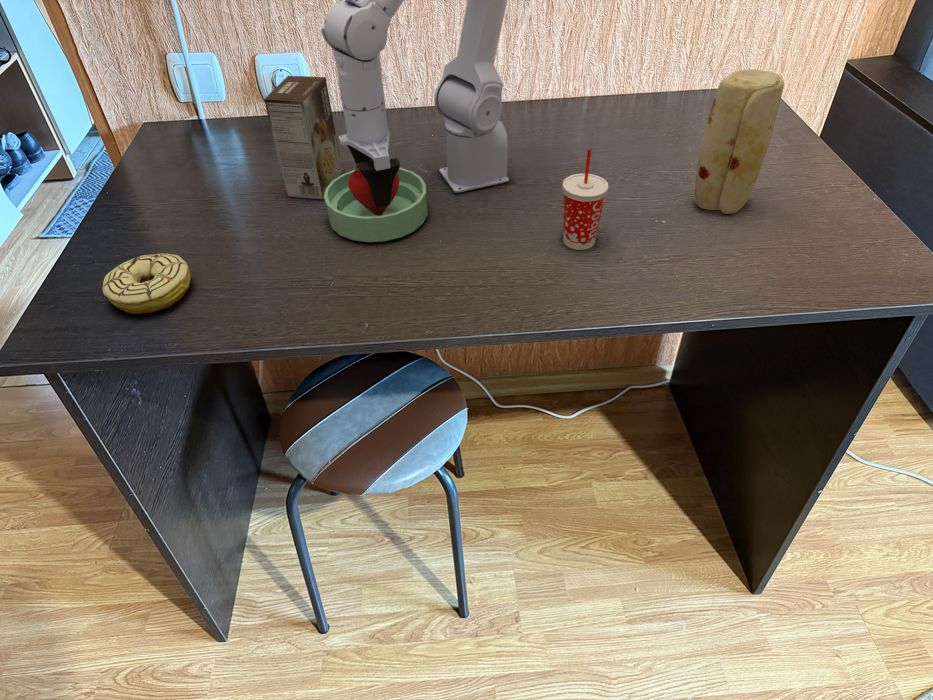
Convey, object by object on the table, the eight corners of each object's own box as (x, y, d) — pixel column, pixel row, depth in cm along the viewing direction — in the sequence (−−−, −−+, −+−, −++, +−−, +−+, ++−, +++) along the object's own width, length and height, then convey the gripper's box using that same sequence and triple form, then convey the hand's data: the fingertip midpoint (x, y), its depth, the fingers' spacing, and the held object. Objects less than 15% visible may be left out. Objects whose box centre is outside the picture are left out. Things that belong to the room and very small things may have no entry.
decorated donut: (145, 264, 92) (135, 241, 89) (210, 277, 89) (201, 254, 86) (93, 309, 84) (80, 286, 82) (161, 325, 82) (150, 302, 79)
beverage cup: (573, 257, 90) (583, 165, 81) (549, 236, 94) (556, 145, 85) (609, 245, 92) (623, 153, 83) (584, 224, 96) (595, 134, 87)
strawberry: (351, 207, 100) (341, 146, 93) (399, 200, 101) (393, 140, 95) (355, 228, 96) (345, 166, 89) (405, 220, 97) (399, 159, 90)
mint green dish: (410, 184, 106) (408, 158, 103) (441, 231, 96) (439, 204, 93) (320, 203, 102) (315, 177, 99) (341, 254, 92) (336, 227, 89)
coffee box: (307, 169, 110) (287, 73, 99) (343, 172, 109) (327, 76, 98) (286, 197, 104) (262, 98, 93) (324, 200, 103) (304, 100, 92)
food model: (737, 191, 102) (776, 60, 88) (759, 213, 97) (804, 78, 84) (679, 198, 101) (709, 67, 87) (698, 221, 96) (733, 86, 82)
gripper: (322, 87, 91) (338, 175, 100) (346, 129, 81) (361, 223, 90) (371, 79, 93) (382, 166, 102) (401, 119, 83) (409, 212, 92)
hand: (375, 192), depth 96 cm, fingers open, 7 cm apart
